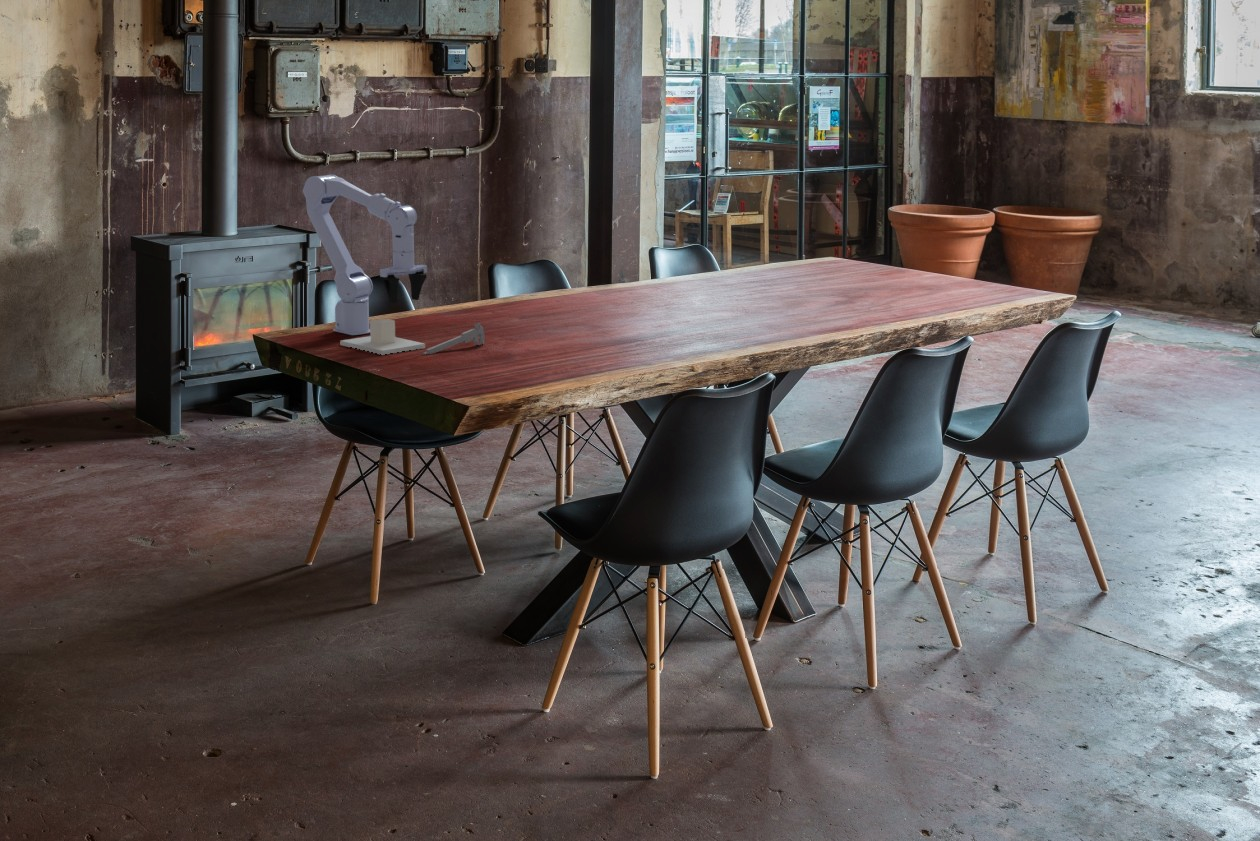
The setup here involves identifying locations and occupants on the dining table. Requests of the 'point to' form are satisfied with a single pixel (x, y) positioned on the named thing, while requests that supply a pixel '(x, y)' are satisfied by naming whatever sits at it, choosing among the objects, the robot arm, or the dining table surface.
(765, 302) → the dining table surface
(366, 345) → the light gray slab
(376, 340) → the cream rectangular prism
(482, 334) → the caliper
